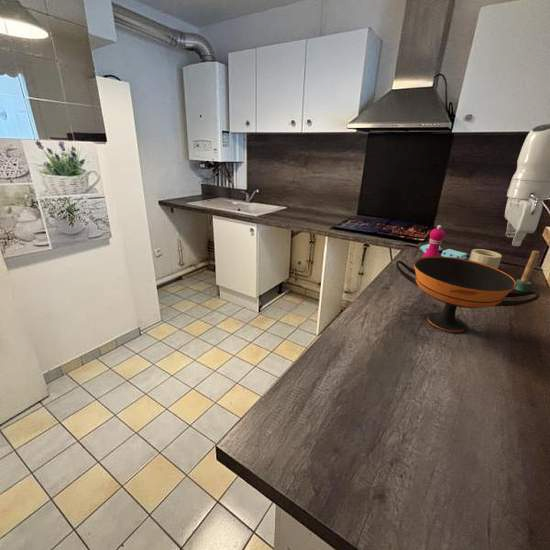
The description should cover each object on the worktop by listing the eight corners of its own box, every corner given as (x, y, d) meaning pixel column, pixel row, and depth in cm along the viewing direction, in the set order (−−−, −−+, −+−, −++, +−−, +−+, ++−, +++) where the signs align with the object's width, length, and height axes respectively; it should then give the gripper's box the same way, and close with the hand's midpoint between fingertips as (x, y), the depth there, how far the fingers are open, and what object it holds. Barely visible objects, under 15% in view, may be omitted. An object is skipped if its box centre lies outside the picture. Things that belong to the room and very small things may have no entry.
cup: (375, 320, 91) (385, 268, 84) (397, 292, 110) (407, 247, 103) (519, 369, 72) (548, 307, 65) (515, 325, 91) (538, 273, 84)
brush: (521, 286, 118) (536, 249, 112) (530, 292, 114) (547, 253, 108) (510, 286, 118) (525, 249, 112) (519, 291, 114) (535, 253, 108)
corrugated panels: (427, 248, 163) (418, 251, 158) (428, 243, 162) (419, 245, 156) (497, 267, 138) (489, 271, 133) (499, 261, 137) (491, 265, 132)
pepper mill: (437, 266, 136) (449, 225, 128) (436, 271, 130) (448, 228, 123) (421, 263, 140) (431, 222, 132) (419, 268, 134) (430, 225, 126)
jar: (481, 272, 132) (489, 249, 127) (499, 282, 122) (508, 257, 118) (459, 271, 131) (466, 248, 127) (474, 281, 122) (483, 257, 117)
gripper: (556, 197, 68) (535, 253, 73) (534, 187, 84) (518, 233, 90) (522, 195, 71) (504, 249, 76) (507, 186, 87) (493, 231, 93)
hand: (512, 240), depth 83 cm, fingers open, 8 cm apart
